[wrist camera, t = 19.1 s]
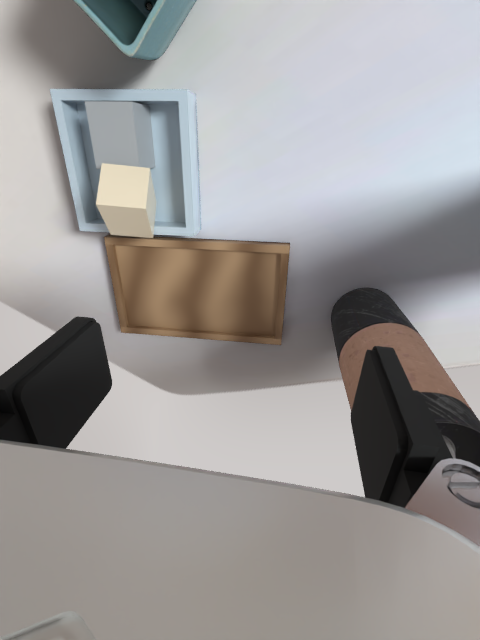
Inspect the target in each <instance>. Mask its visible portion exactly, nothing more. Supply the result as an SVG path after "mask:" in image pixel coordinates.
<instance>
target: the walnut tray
mask: <svg viewBox="0 0 480 640" xmlns="http://www.w3.org/2000/svg"><path fill="white" fill-rule="evenodd" d="M104 239H105V245H106V250H107V256H108V262H109V267H110V273H111V278H112V284H113V289H114V295H115V300H116V306H117V312H118V317H119V323H120V328H121V332H122V333H135V334H148V335H161V336H173V337H186V338H199V339H211V340H224V341H237V342H250V343H262V344H275V345H281V339H282V328H283V317H284V306H285V295H286V284H287V273H288V262H289V251H290V243H278V242H258V241H237V240H216V239H196V238H175V237H154V236H153V238H146V237H133V236H120V235H111V234H109V235H107V236H105V237H104Z"/></svg>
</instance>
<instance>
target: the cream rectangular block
mask: <svg viewBox="0 0 480 640" xmlns="http://www.w3.org/2000/svg"><path fill="white" fill-rule="evenodd" d="M156 203H157V202H156V197H155V191H154V186H153V181H152V176H151V171H150V168H145V167H135V166H125V165H115V164H105V163H102V165H101V172H100V179H99V186H98V193H97V200H96V206H97V208H98V210H99V212H100V214H101V216H102V218H103V220H104V222H105V224H106V226H107V228H108V230H109V232H110V234H111V235H120V236H133V237H146V238H153V236H154V225H155V214H156Z"/></svg>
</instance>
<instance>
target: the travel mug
mask: <svg viewBox="0 0 480 640" xmlns="http://www.w3.org/2000/svg"><path fill="white" fill-rule="evenodd" d="M331 323H332V330H333V335H334V340H335V345H336V351H337V356H338V361H339V366H340V370H341V374H342V378H343V382H344V385H345V389H346V393H347V397H348V401H349V404H350V408H351V411H352V406H353V402H354V398H355V394H356V390H357V386H358V382H359V378H360V374H361V370H362V366H363V362H364V358H365V354H366V351H367V350H372V349H373V347H374V346H382V347H392V348H394V350H395V352H396V354H397V356H398V359H399V361H400V363H401V365H402V367H403V369H404V372H405V374H406V376H407V378H408V380H409V382H410V385H411V387H412V389H413V390H417V391H419V392H420V393H421V394H422V396H423V398H424V400H425V402H426V404H427V406H428V408H429V410H430V412H431V414H432V416H433V418H434V420H435V422H436V424H437V426H438V428H439V430H440V432H441V434H442V436H443V438H444V440H445V443H446V445H447V447H448V449H449V451H450V453H451V455H452V457H453V459H461V460H464V461H467V462H470V463H472V464H474V465H476V466H478V467H480V421H479V420H478V418H477V417H476V415H475V414H474V412H473V411H472V409H471V408H470V407H469V405H468V404H467V402H466V401H465V399H464V398H463V396H462V395H461V393H460V392H459V390H458V389H457V388H456V386H455V385H454V383H453V382H452V380H451V379H450V378H449V376H448V374H447V373H446V371H445V370H444V369H443V367H442V366H441V364H440V363H439V361H438V360H437V358H436V357H435V355H434V354H433V352H432V351H431V350H430V348H429V347H428V345H427V344H426V342H425V341H424V339H423V338H422V337H421V335H420V334H419V333H418V331H417V330H416V329H415V328H414V326H413V325H412V324H411V323H410V321H409V320H408V319H407V318H406V316H405V315H404V314H403V312H402V311H401V310H400V309H399V307H398V306H397V305H396V304H395V302H394V301H393V300H392V299H391V298H390V297H389V296H388V295H387V294H385V293H384V292H382V291H380V290H377V289H373V288H360V289H356V290H353V291H350V292H348V293H347V294H345V295H344V296H342V297H341V298H340V299H339V300H338V301H337V303H336V304H335V306H334V308H333V311H332V315H331Z"/></svg>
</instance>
